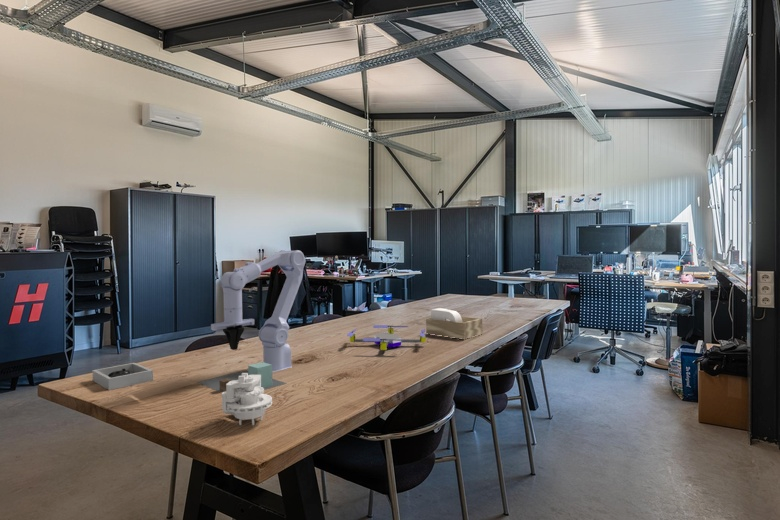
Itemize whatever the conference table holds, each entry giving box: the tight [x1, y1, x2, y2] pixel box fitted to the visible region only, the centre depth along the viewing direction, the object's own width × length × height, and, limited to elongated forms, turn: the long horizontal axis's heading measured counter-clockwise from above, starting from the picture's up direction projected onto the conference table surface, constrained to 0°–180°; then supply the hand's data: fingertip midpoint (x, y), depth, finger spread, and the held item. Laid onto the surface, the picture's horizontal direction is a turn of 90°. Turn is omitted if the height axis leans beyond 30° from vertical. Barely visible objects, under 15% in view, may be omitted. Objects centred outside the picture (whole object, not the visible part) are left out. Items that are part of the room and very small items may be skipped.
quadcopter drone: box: [347, 324, 427, 351], centre depth 198 cm, size 34×33×5 cm
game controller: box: [108, 369, 130, 378], centre depth 150 cm, size 10×5×6 cm
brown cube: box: [219, 379, 232, 392], centre depth 136 cm, size 3×3×3 cm
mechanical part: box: [221, 373, 273, 426], centre depth 113 cm, size 11×12×12 cm
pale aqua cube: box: [247, 361, 273, 388], centre depth 140 cm, size 5×5×7 cm
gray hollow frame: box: [92, 362, 154, 391], centre depth 149 cm, size 13×16×4 cm
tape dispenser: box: [430, 307, 462, 323], centre depth 222 cm, size 16×10×13 cm, turn 42°
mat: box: [196, 369, 288, 394], centre depth 143 cm, size 18×24×1 cm
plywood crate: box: [425, 315, 483, 339], centre depth 222 cm, size 17×22×8 cm
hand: (233, 349), depth 148 cm, fingers closed
